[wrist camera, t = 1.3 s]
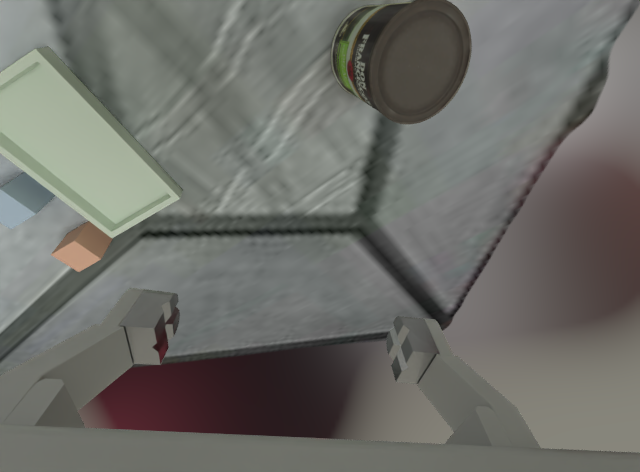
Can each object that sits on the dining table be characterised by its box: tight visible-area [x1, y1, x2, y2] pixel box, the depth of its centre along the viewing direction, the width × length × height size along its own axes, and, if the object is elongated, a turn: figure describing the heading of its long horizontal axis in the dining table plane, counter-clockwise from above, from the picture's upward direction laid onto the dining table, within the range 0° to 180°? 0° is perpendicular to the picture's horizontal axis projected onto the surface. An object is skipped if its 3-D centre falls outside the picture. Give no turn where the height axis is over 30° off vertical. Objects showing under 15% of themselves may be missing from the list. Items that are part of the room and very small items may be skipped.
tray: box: [0, 47, 183, 238], centre depth 37 cm, size 20×12×3 cm, turn 26°
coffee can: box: [331, 0, 472, 124], centre depth 33 cm, size 10×10×14 cm
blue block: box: [0, 172, 55, 229], centre depth 37 cm, size 4×4×5 cm
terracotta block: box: [51, 221, 112, 272], centre depth 42 cm, size 4×4×5 cm
